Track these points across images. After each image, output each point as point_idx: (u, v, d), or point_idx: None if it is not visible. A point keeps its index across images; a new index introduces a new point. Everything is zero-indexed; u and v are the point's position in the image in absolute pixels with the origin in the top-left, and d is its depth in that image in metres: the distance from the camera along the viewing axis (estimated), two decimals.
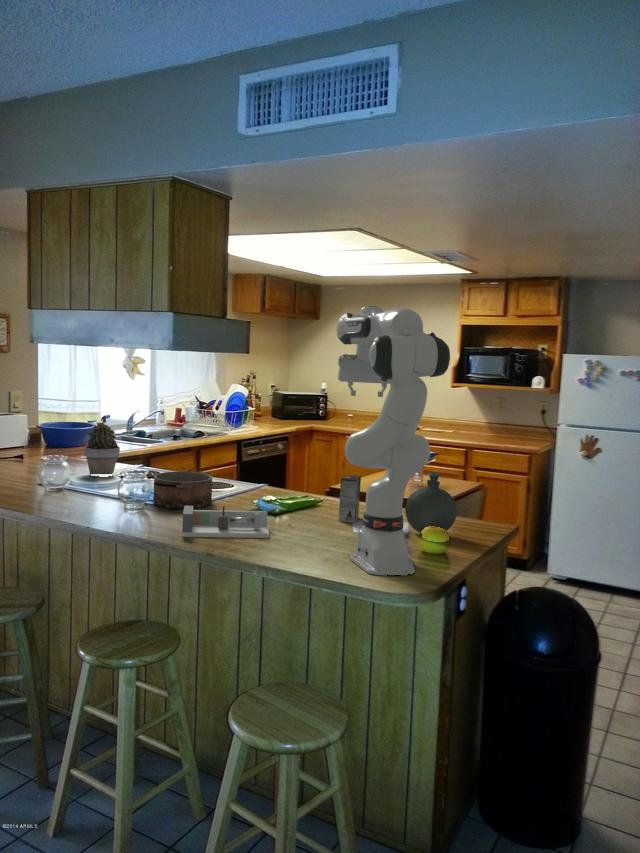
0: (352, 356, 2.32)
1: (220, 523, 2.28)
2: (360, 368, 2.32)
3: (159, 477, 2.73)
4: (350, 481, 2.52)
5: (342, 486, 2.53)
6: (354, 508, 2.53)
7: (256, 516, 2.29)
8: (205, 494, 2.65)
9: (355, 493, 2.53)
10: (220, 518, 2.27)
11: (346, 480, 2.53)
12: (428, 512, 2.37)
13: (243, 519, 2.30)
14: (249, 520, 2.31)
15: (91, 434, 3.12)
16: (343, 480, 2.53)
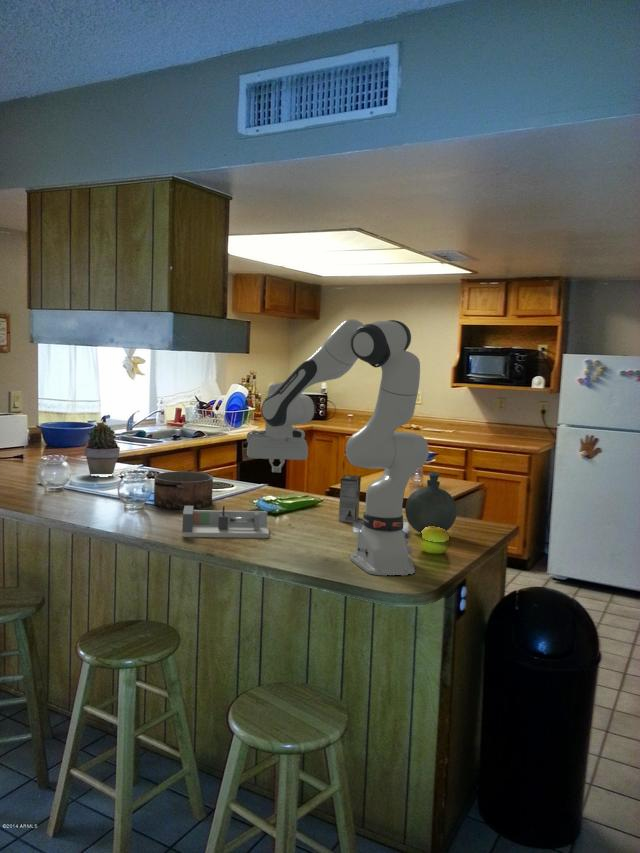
0: (260, 432, 2.28)
1: (220, 523, 2.28)
2: (268, 444, 2.28)
3: (160, 477, 2.73)
4: (350, 481, 2.52)
5: (342, 486, 2.53)
6: (354, 508, 2.53)
7: (256, 516, 2.29)
8: (206, 494, 2.65)
9: (355, 493, 2.53)
10: (220, 518, 2.27)
11: (346, 480, 2.53)
12: (428, 512, 2.37)
13: (243, 519, 2.30)
14: (249, 520, 2.31)
15: (91, 434, 3.12)
16: (343, 480, 2.53)
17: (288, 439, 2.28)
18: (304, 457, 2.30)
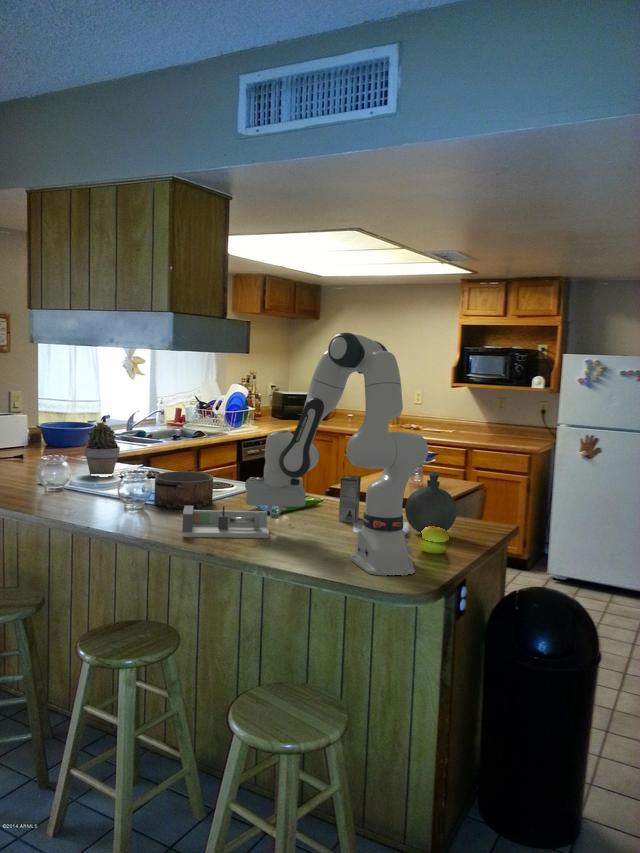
0: (259, 479, 2.31)
1: (220, 523, 2.28)
2: (266, 492, 2.30)
3: (160, 477, 2.73)
4: (350, 481, 2.52)
5: (342, 486, 2.53)
6: (354, 508, 2.53)
7: (256, 516, 2.29)
8: (206, 494, 2.65)
9: (355, 493, 2.53)
10: (220, 518, 2.27)
11: (346, 480, 2.53)
12: (428, 512, 2.37)
13: (243, 519, 2.30)
14: (249, 520, 2.31)
15: (91, 434, 3.12)
16: (343, 480, 2.53)
17: (286, 486, 2.30)
18: (302, 504, 2.32)
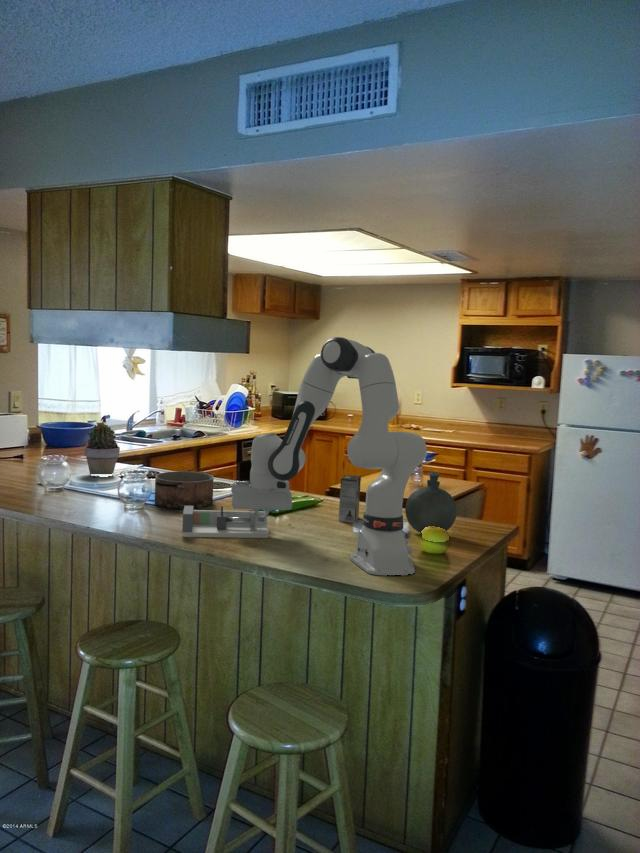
0: (245, 483, 2.30)
1: (218, 523, 2.28)
2: (253, 495, 2.29)
3: (160, 477, 2.73)
4: (350, 481, 2.52)
5: (342, 486, 2.53)
6: (354, 508, 2.53)
7: (252, 516, 2.28)
8: (206, 494, 2.65)
9: (355, 493, 2.53)
10: (218, 518, 2.27)
11: (346, 480, 2.53)
12: (428, 512, 2.37)
13: (239, 519, 2.30)
14: (245, 520, 2.31)
15: (91, 434, 3.12)
16: (343, 480, 2.53)
17: (272, 490, 2.29)
18: (289, 507, 2.31)
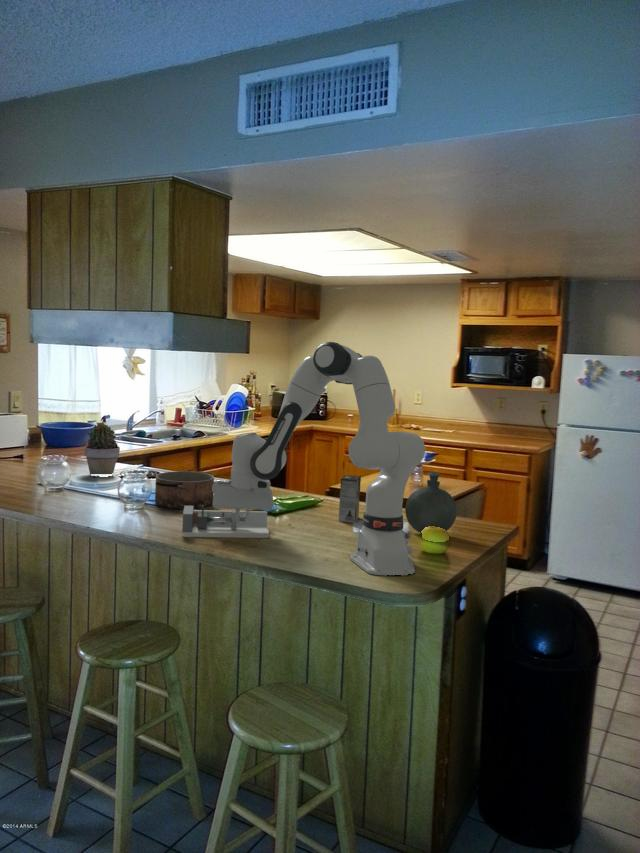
0: (226, 482, 2.29)
1: (199, 523, 2.27)
2: (233, 495, 2.28)
3: (161, 477, 2.73)
4: (350, 481, 2.52)
5: (342, 486, 2.53)
6: (354, 508, 2.53)
7: (233, 516, 2.27)
8: (207, 494, 2.65)
9: (355, 493, 2.53)
10: (199, 518, 2.26)
11: (346, 480, 2.53)
12: (428, 512, 2.37)
13: (220, 519, 2.29)
14: (226, 520, 2.30)
15: (91, 434, 3.12)
16: (343, 480, 2.53)
17: (253, 489, 2.28)
18: (270, 507, 2.30)
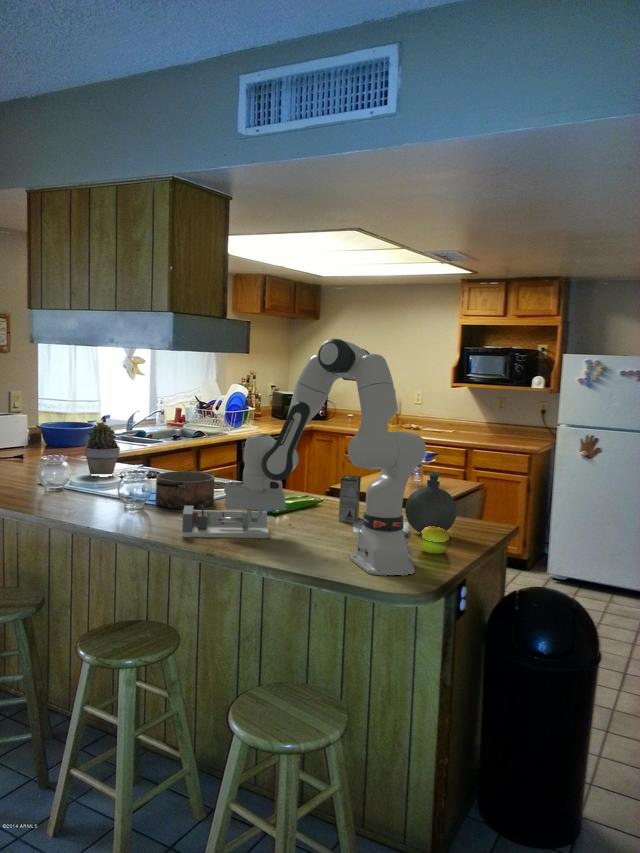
0: (238, 483, 2.29)
1: (199, 523, 2.27)
2: (246, 495, 2.29)
3: (161, 477, 2.74)
4: (350, 481, 2.52)
5: (342, 486, 2.53)
6: (354, 508, 2.53)
7: (245, 516, 2.28)
8: (207, 494, 2.65)
9: (355, 493, 2.53)
10: (199, 518, 2.26)
11: (346, 480, 2.53)
12: (428, 512, 2.37)
13: (232, 519, 2.30)
14: (238, 520, 2.30)
15: (91, 434, 3.12)
16: (343, 480, 2.53)
17: (265, 490, 2.29)
18: (282, 507, 2.31)
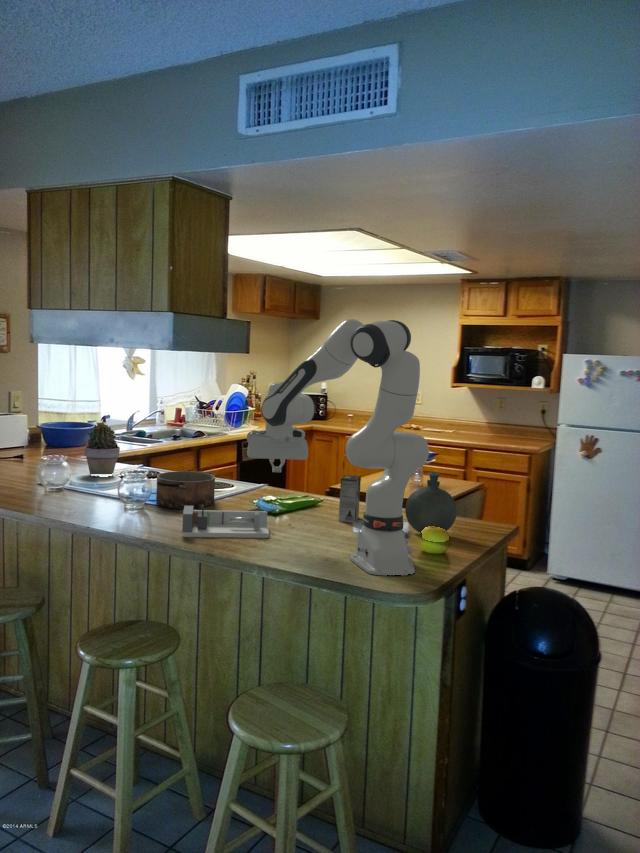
0: (261, 432, 2.28)
1: (199, 523, 2.27)
2: (268, 444, 2.28)
3: (162, 477, 2.74)
4: (350, 481, 2.52)
5: (342, 486, 2.53)
6: (354, 508, 2.53)
7: (256, 516, 2.29)
8: (208, 494, 2.65)
9: (355, 493, 2.53)
10: (199, 518, 2.26)
11: (346, 480, 2.53)
12: (428, 512, 2.37)
13: (243, 519, 2.30)
14: (249, 520, 2.31)
15: (91, 434, 3.12)
16: (343, 480, 2.53)
17: (288, 439, 2.28)
18: (304, 457, 2.30)
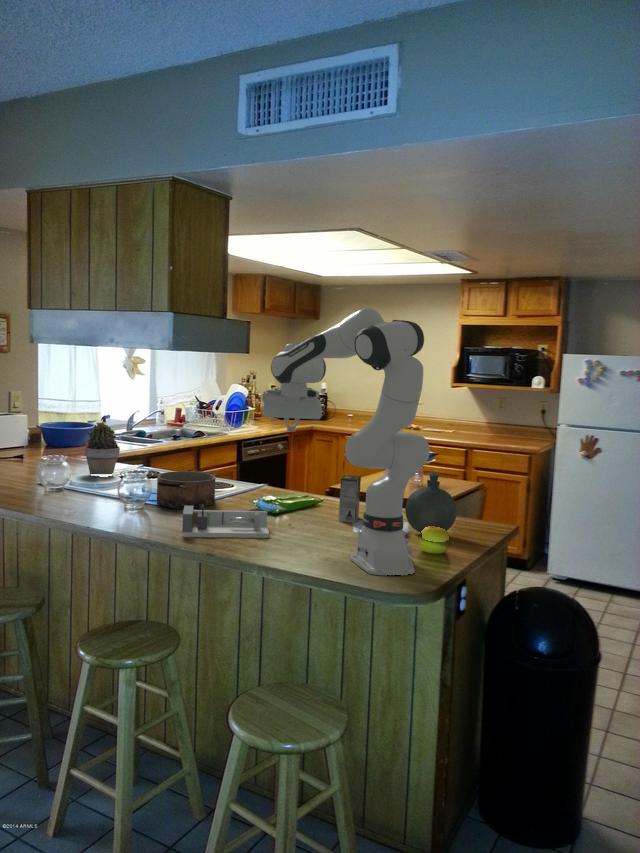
0: (276, 392, 2.34)
1: (199, 523, 2.27)
2: (283, 404, 2.33)
3: (162, 477, 2.74)
4: (350, 481, 2.52)
5: (342, 486, 2.53)
6: (354, 508, 2.53)
7: (256, 516, 2.29)
8: (208, 494, 2.66)
9: (355, 493, 2.53)
10: (199, 518, 2.26)
11: (346, 480, 2.53)
12: (428, 512, 2.37)
13: (243, 519, 2.30)
14: (249, 520, 2.31)
15: (91, 434, 3.12)
16: (343, 480, 2.53)
17: (303, 398, 2.33)
18: (318, 416, 2.35)
